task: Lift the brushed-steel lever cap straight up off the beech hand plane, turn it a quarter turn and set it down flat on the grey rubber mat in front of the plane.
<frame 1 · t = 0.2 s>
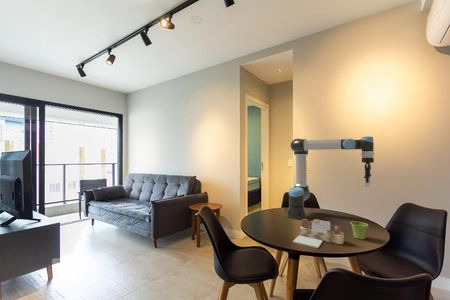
hand: (367, 186, 162), 28 cm above the table, tool pointing down, fingers open, 13 cm apart
hand plane: (321, 238, 135), on the table
plant pot: (359, 238, 136), on the table
rubber mat: (307, 242, 129), on the table
lever cap: (320, 230, 135), point 5 cm above the table, touching hand plane
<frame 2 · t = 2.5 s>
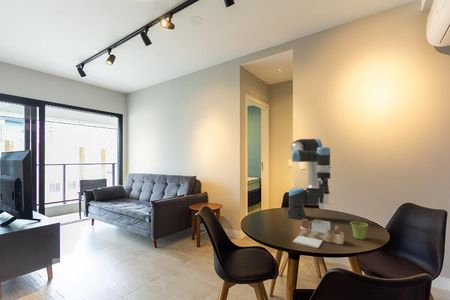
hand: (324, 206, 136), 19 cm above the table, tool pointing down, fingers open, 13 cm apart
nothing on the table moved.
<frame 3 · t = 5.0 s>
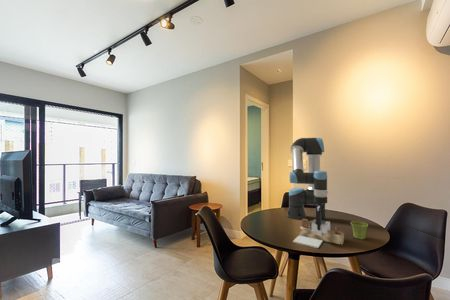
hand: (320, 233, 135), 3 cm above the table, tool pointing down, fingers closed on lever cap, 8 cm apart
lever cap: (320, 230, 135), point 5 cm above the table, touching gripper, hand plane
everything else where it was.
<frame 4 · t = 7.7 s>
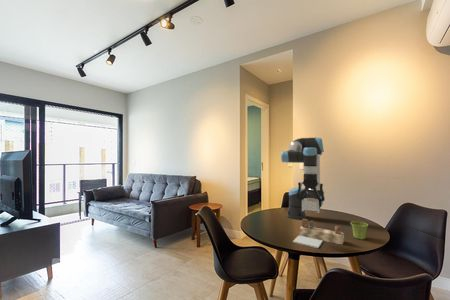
hand: (310, 211, 130), 18 cm above the table, tool pointing down, fingers closed on lever cap, 8 cm apart
lever cap: (310, 208, 130), point 19 cm above the table, touching gripper
everything else where it was.
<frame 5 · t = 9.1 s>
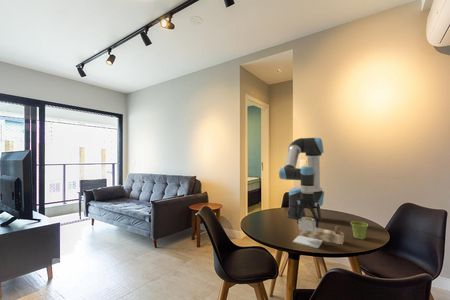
hand: (307, 231, 129), 7 cm above the table, tool pointing down, fingers closed on lever cap, 8 cm apart
lever cap: (307, 228, 129), point 8 cm above the table, touching gripper
everything else where it was.
when the fingers open (1 cm above the table, at t = 10.5 s): lever cap drops 2 cm, resting on rubber mat.
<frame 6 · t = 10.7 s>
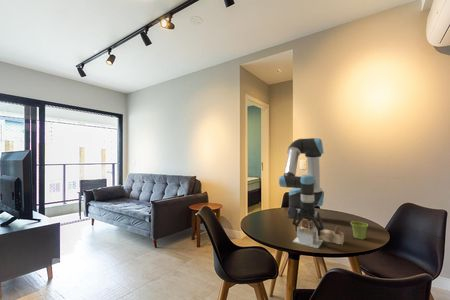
hand: (307, 239, 129), 2 cm above the table, tool pointing down, fingers open, 10 cm apart
lever cap: (307, 240, 129), point 1 cm above the table, touching rubber mat
everything else where it was.
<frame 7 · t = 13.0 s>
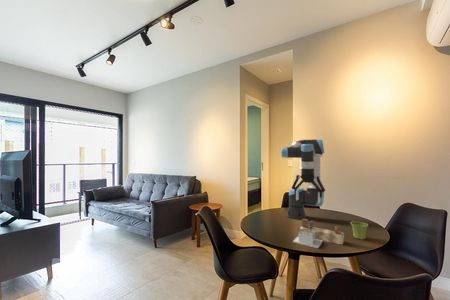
hand: (308, 201, 140), 22 cm above the table, tool pointing down, fingers open, 13 cm apart
nothing on the table moved.
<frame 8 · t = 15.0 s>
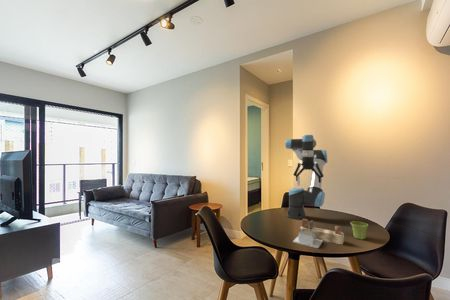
hand: (308, 186, 156), 29 cm above the table, tool pointing down, fingers open, 13 cm apart
nothing on the table moved.
at the end: lever cap inside the target area (0.0 cm from its centre), point 0.8 cm above the table; the gripper is holding nothing; lever cap tilted 0° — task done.
